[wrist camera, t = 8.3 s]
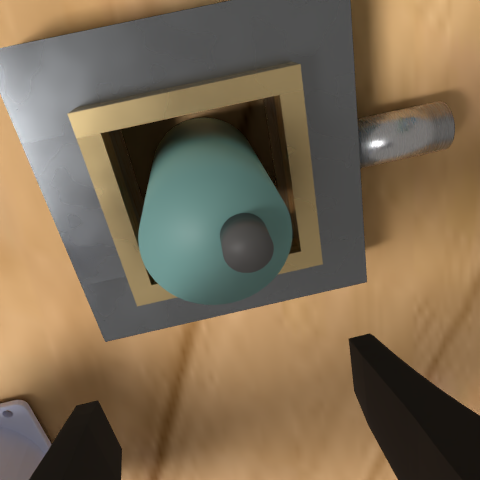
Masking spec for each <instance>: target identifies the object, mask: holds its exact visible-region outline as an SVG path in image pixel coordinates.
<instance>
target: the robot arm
mask: <svg viewBox="0 0 480 480" xmlns="http://www.w3.org/2000/svg"><path fill="white" fill-rule="evenodd" d="M349 345H350V355H351V364H352V374H353V383H354V391H355V394H356V396H357V399H358V401H359V404H360V406H361V409H362V411H363V413H364V416H365V418H366V421H367V423H368V425H369V427H370V429H371V431H372V433H373V435H374V436H375V438H376V440H377V442H378V444H379V446H380V447H381V449H382V451H383V453H384V455H385V457H386V458H387V460H388V462H389V464H390V466H391V468H392V469H393V471H394V473H395V475H396V477H397V478H398V480H480V415H478V414H476V413H475V412H473V411H472V410H470V409H469V408H467V407H465V406H464V405H462V404H461V403H459V402H458V401H457V400H455V399H454V398H452V397H451V396H449V395H448V394H446V393H445V392H443V391H442V390H441V389H439V388H438V387H436V386H435V385H434V384H432V383H431V382H430V381H428V380H427V379H426V378H424V377H423V376H422V375H420V374H419V373H418V372H416V371H415V370H414V369H413V368H411V367H410V366H409V365H408V364H406V363H405V362H404V361H403V360H401V359H400V358H399V357H398V356H396V355H395V354H394V353H393V352H392V351H390V350H389V349H388V348H387V347H386V346H385V345H383V344H382V343H381V342H380V341H379V340H378V339H377V338H375V337H374V336H373V335H371V334H366V335H362V336H358V337H354V338H350V339H349ZM7 410H9V411H11V412H9V411H7ZM121 461H122V449H121V446H120V444H119V442H118V440H117V438H116V436H115V434H114V432H113V430H112V428H111V426H110V424H109V422H108V420H107V418H106V416H105V414H104V412H103V410H102V408H101V405H100V403H99V401H94V402H90V403H86V404H82V405H78V406H76V407H75V409H74V411H73V412H72V414H71V415H70V417H69V418H68V420H67V421H66V423H65V424H64V426H63V428H62V429H61V431H60V432H59V434H58V435H57V437H56V439H55V440H54V442H53V443H52V444H51V442H50V441H49V439H48V437H47V435H46V434H45V432H44V430H43V429H42V427H41V425H40V423H39V422H38V420H37V418H36V416H35V415H34V413H33V411H32V410H31V408H30V406H29V404H28V403H27V402H25V401H23V400H13V401H9V402H5V403H0V480H121Z"/></svg>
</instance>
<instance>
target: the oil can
mask: <svg viewBox="0 0 480 480" xmlns="http://www.w3.org/2000/svg"><path fill="white" fill-rule="evenodd" d="M138 242H139V250H140V254H141V258H142V260H143V263H144V265H145V267H146V269H147V270H148V272H149V274H150V275H151V276H152V278H153V279H154V280H155V281H156V282H157V283H158V284H159V285H160V286H161V287H162V288H164V289H165V290H166V291H168V292H169V293H171V294H173V295H174V296H176V297H178V298H181V299H183V300H186V301H189V302H193V303H198V304H204V305H221V304H228V303H233V302H236V301H240V300H243V299H245V298H247V297H250V296H252V295H253V294H255V293H257V292H259V291H260V290H261V289H263V288H264V287H266V286H267V285H268V284H269V283H270V282H271V281H272V280H273V279H274V278H275V277H276V276H277V275H278V273H279V272H280V270H281V269H282V267H283V266H284V264H285V262H286V260H287V257H288V255H289V252H290V248H291V243H292V223H291V218H290V214H289V212H288V209H287V207H286V205H285V203H284V201H283V199H282V198H281V196H280V194H279V193H278V191H277V189H276V187H275V186H274V184H273V182H272V181H271V179H270V177H269V176H268V174H267V172H266V171H265V169H264V167H263V165H262V164H261V162H260V160H259V159H258V157H257V155H256V154H255V152H254V150H253V149H252V147H251V145H250V143H249V142H248V140H247V139H246V138H245V136H244V135H243V134H242V133H241V132H240V131H239V130H238V129H236V128H235V127H234V126H232V125H230V124H229V123H227V122H224V121H222V120H218V119H214V118H195V119H190V120H187V121H184V122H182V123H180V124H178V125H177V126H175V127H173V128H172V129H171V130H170V131H169V132H168V133H167V134H166V135H165V136H164V137H163V138H162V140H161V141H160V143H159V145H158V147H157V149H156V152H155V154H154V159H153V164H152V168H151V173H150V178H149V183H148V188H147V192H146V197H145V202H144V207H143V212H142V216H141V221H140V226H139V234H138Z"/></svg>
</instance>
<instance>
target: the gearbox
mask: <svg viewBox="0 0 480 480" xmlns="http://www.w3.org/2000/svg"><path fill="white" fill-rule="evenodd" d="M0 94H1V97H2V99H3V101H4V104H5V106H6V108H7V111H8V113H9V116H10V118H11V120H12V123H13V125H14V127H15V130H16V132H17V134H18V137H19V139H20V142H21V144H22V146H23V149H24V151H25V153H26V156H27V158H28V160H29V163H30V165H31V168H32V170H33V172H34V175H35V177H36V179H37V182H38V184H39V186H40V189H41V191H42V194H43V196H44V198H45V201H46V203H47V205H48V208H49V210H50V212H51V215H52V217H53V220H54V222H55V224H56V227H57V229H58V231H59V234H60V236H61V238H62V241H63V243H64V245H65V248H66V250H67V253H68V255H69V257H70V260H71V262H72V264H73V267H74V269H75V271H76V274H77V276H78V279H79V281H80V283H81V286H82V288H83V290H84V293H85V295H86V297H87V300H88V302H89V305H90V307H91V309H92V312H93V314H94V316H95V319H96V321H97V323H98V326H99V328H100V331H101V333H102V335H103V338H104V340H105V342H107V341H111V340H116V339H120V338H124V337H129V336H133V335H137V334H142V333H146V332H151V331H155V330H159V329H164V328H168V327H172V326H177V325H181V324H186V323H190V322H194V321H199V320H203V319H207V318H212V317H216V316H220V315H225V314H229V313H234V312H238V311H242V310H247V309H251V308H255V307H260V306H264V305H269V304H273V303H277V302H282V301H286V300H290V299H295V298H299V297H303V296H308V295H312V294H317V293H321V292H325V291H330V290H334V289H338V288H343V287H347V286H352V285H356V284H360V283H365V282H367V275H366V258H365V241H364V224H363V207H362V190H361V173H360V168H364V167H368V166H373V165H378V164H382V163H387V162H391V161H396V160H400V159H405V158H409V157H414V156H418V155H423V154H427V153H432V152H436V151H441V150H445V149H447V148H449V147H450V145H451V144H452V142H453V139H454V133H455V124H454V118H453V115H452V112H451V110H450V108H449V107H448V105H447V104H446V103H444V102H442V101H437V102H433V103H428V104H423V105H419V106H414V107H410V108H405V109H400V110H396V111H391V112H387V113H382V114H377V115H373V116H368V117H364V118H359V119H357V104H356V87H355V70H354V53H353V36H352V19H351V2H350V0H230V1H226V2H221V3H216V4H211V5H206V6H201V7H197V8H192V9H187V10H182V11H177V12H173V13H168V14H163V15H158V16H153V17H148V18H144V19H139V20H134V21H129V22H124V23H120V24H115V25H110V26H105V27H100V28H95V29H91V30H86V31H81V32H76V33H71V34H67V35H62V36H57V37H52V38H47V39H42V40H38V41H33V42H28V43H23V44H18V45H13V46H9V47H4V48H0ZM258 99H264V105H265V112H266V118H267V125H268V131H269V138H270V144H271V151H272V157H273V164H274V170H275V177H276V183H277V190H278V193H279V194H280V196H281V198H282V199H283V201H284V203H285V205H286V207H287V209H288V212H289V214H290V218H291V223H292V243H291V248H290V252H289V255H288V257H287V260H286V262H285V264H284V266H283V267H282V269H281V270H280V272H279V273H278V275H277V276H276V277H275V278H274V279H273V280H272V281H271V282H270V283H269V284H268V285H267V286H266V287H264V288H263V289H261V290H260V291H259V292H257V293H255V294H253V295H252V296H250V297H247V298H245V299H243V300H240V301H236V302H233V303H228V304H221V305H204V304H198V303H193V302H189V301H186V300H183V299H181V298H178V297H176V296H174V295H173V294H171V293H169V292H168V291H166V290H165V289H164V288H162V287H161V286H160V285H159V284H158V283H157V282H156V281H155V280H154V279H153V278H152V276H151V275H150V274H149V272H148V270H147V269H146V267H145V265H144V263H143V260H142V258H141V254H140V250H139V242H138V234H139V226H140V221H141V216H142V212H143V207H144V202H143V199H142V196H141V193H140V190H139V186H138V183H137V180H136V177H135V174H134V170H133V167H132V164H131V161H130V157H129V154H128V151H127V148H126V145H125V141H124V138H123V135H122V132H121V129H123V128H127V127H132V126H137V125H141V124H146V123H151V122H155V121H160V120H165V119H169V118H174V117H179V116H183V115H188V114H193V113H197V112H202V111H207V110H211V109H216V108H221V107H225V106H230V105H235V104H239V103H244V102H249V101H253V100H258Z"/></svg>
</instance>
